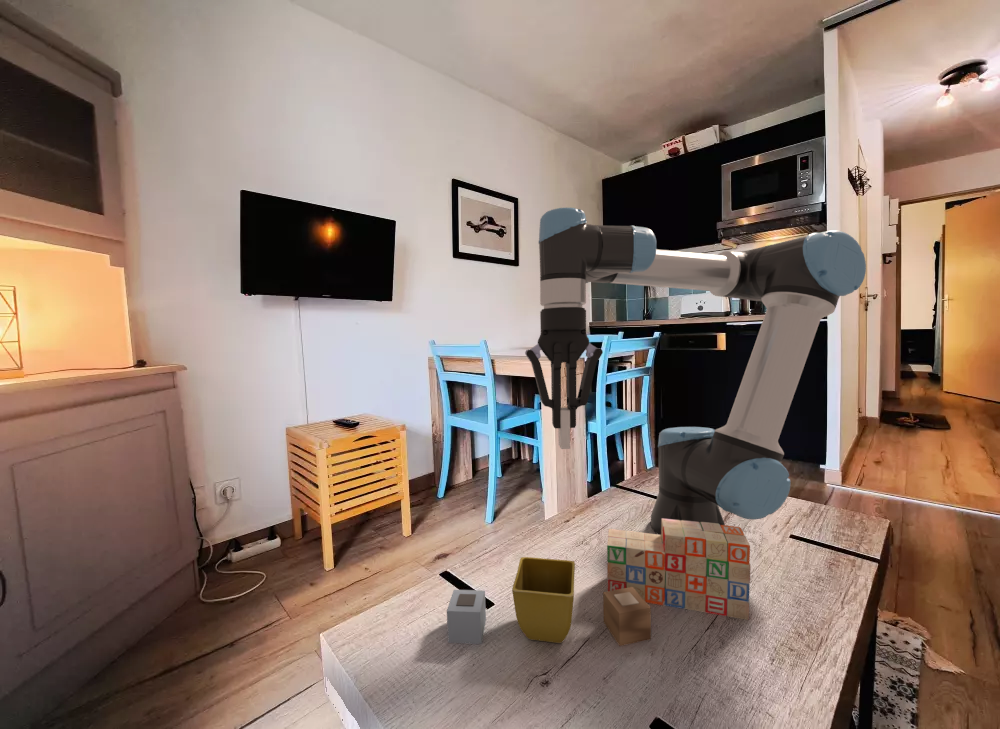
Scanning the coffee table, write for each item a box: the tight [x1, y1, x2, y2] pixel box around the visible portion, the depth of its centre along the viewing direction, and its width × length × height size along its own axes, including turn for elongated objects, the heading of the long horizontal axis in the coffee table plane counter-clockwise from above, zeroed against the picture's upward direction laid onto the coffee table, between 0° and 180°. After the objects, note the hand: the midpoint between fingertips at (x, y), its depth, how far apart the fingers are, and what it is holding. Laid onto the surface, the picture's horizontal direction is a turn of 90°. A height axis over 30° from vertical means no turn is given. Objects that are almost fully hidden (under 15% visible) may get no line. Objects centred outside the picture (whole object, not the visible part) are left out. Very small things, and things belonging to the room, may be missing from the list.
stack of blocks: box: [606, 518, 751, 621], centre depth 69 cm, size 21×6×12 cm, turn 72°
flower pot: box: [511, 556, 576, 644], centre depth 62 cm, size 9×9×9 cm
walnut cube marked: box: [602, 587, 652, 647], centre depth 61 cm, size 5×5×5 cm
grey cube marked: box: [446, 589, 487, 645], centre depth 62 cm, size 5×5×5 cm
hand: (564, 446), depth 70 cm, fingers closed
